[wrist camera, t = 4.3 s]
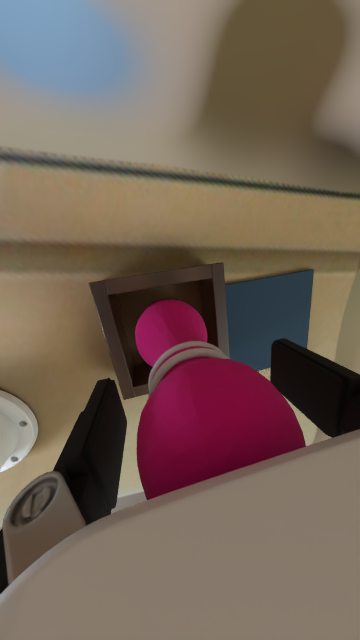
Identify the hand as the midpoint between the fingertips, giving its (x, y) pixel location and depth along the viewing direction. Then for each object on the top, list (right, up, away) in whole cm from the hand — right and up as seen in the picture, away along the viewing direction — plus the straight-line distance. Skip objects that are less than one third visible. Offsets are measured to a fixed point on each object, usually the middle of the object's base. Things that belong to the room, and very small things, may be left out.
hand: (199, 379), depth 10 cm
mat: (+12, +3, +15) cm, 19 cm away
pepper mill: (-3, +3, +12) cm, 13 cm away
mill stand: (-3, +3, +12) cm, 13 cm away
